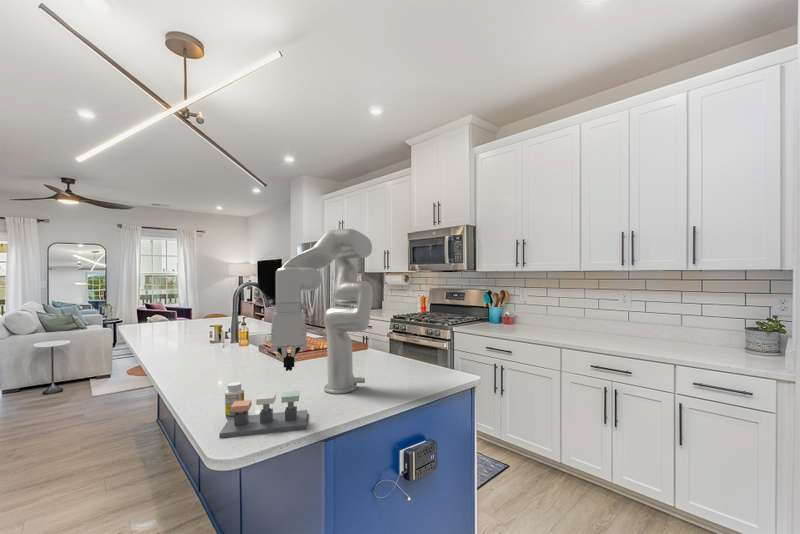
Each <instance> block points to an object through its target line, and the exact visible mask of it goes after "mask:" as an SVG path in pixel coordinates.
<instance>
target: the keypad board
mask: <svg viewBox="0 0 800 534" xmlns="http://www.w3.org/2000/svg"><path fill="white" fill-rule="evenodd" d="M307 419H308V409H303V410H302V409H301V410H298V405H294V410H288V406H285V409H284V411H283V412H282V411H281V412H274V409H273V407H271V408H270V411H269V412H263V408H261V409H260V412H259V414H249V411H245V414H240V415H238V412H236V414H235V415H234V417H230V418H229V419H228V420H227V421H226V423H225V424H224V426H223V427H222V429H221V430H220V432H219V433H218V434H219V439H221V438H222V439H223V438H230V437H232V438H233V437H239V436H249V435H251V436H252V435H261V434H262V435H263V434H270V433H278V431H281V432H289V431H288V430H290V431H298V430H300V431H301V430H306V427H307V422H306V421H308V420H307Z"/></svg>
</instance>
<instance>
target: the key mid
mask: <svg viewBox="0 0 800 534" xmlns="http://www.w3.org/2000/svg"><path fill="white" fill-rule="evenodd" d="M276 395H277V393H276V392H271V393H259V394H258V395H257V397H256V399H255V402H256V403H255V404H256V406H262V409H263V412H269V411H270V407H271V406H270V405H271V404H272V405H273V404H275V401H276V399H277V397H276Z"/></svg>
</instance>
